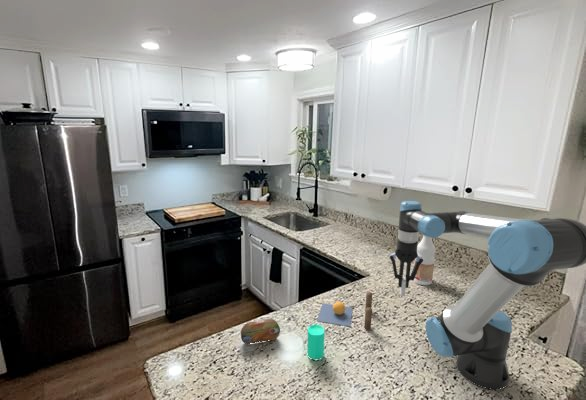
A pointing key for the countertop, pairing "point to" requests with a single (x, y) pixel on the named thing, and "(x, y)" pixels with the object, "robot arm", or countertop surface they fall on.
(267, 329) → the tin
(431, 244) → the fruit juice
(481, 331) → the robot arm
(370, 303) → the post far
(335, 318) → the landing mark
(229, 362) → the countertop surface
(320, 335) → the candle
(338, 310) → the ball
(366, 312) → the post near
